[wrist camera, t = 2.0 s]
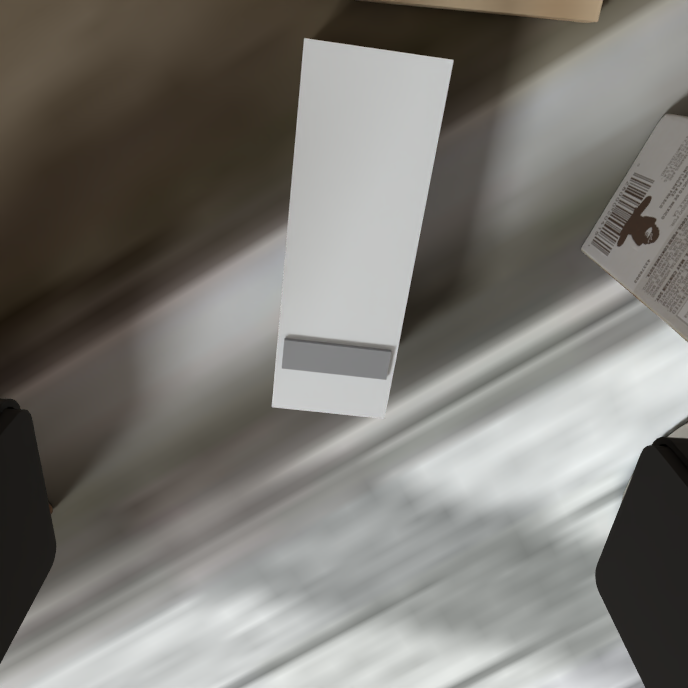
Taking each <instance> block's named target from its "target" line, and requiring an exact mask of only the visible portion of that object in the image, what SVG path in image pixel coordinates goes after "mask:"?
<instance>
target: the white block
mask: <svg viewBox="0 0 688 688" xmlns="http://www.w3.org/2000/svg"><path fill="white" fill-rule="evenodd" d="M453 61H454V60H451V59H444V58H437V57H430V56H423V55H416V54H409V53H403V52H396V51H389V50H382V49H375V48H368V47H362V46H355V45H348V44H341V43H334V42H327V41H320V40H314V39H307V38H304V46H303V57H302V69H301V80H300V91H299V103H298V114H297V126H296V137H295V148H294V160H293V171H292V182H291V194H290V205H289V217H288V228H287V239H286V251H285V262H284V274H283V285H282V296H281V308H280V319H279V330H278V342H277V353H276V365H275V376H274V387H273V399H272V407H277V408H286V409H296V410H305V411H315V412H324V413H334V414H343V415H352V416H362V417H371V418H381V419H384V418H385V413H386V408H387V403H388V398H389V393H390V387H391V382H392V377H393V372H394V367H395V361H396V356H397V351H398V346H399V341H400V335H401V330H402V325H403V320H404V315H405V310H406V304H407V299H408V294H409V289H410V284H411V278H412V273H413V268H414V263H415V258H416V253H417V247H418V242H419V237H420V232H421V227H422V221H423V216H424V211H425V206H426V201H427V196H428V190H429V185H430V180H431V175H432V170H433V164H434V159H435V154H436V149H437V144H438V139H439V133H440V128H441V123H442V118H443V113H444V107H445V102H446V97H447V92H448V87H449V82H450V76H451V71H452V66H453Z"/></svg>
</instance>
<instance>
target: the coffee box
mask: <svg viewBox="0 0 688 688" xmlns="http://www.w3.org/2000/svg"><path fill="white" fill-rule="evenodd" d="M582 252H583V253H584V254H586V255H587V256H588V257H589V258H591V259H592V260H593V261H594V262H595V263H597V264H598V265H599V266H600V267H601V268H602V269H603V270H604V271H606V272H607V273H608V274H609V275H610V276H612V277H613V278H614V279H615V280H616V281H618V282H619V283H620V284H621V285H622V286H623V287H625V288H626V289H627V290H628V291H629V292H630V293H632V294H633V295H634V296H635V297H636V298H637V299H639V300H640V301H641V302H642V303H643V304H645V305H646V306H647V307H648V308H649V309H650V310H652V311H653V312H654V313H655V314H656V315H657V316H658V317H660V318H661V319H662V320H663V321H664V322H665V323H666V324H668V325H669V326H670V327H671V328H672V329H674V330H675V331H676V332H677V333H678V334H679V335H680V336H681V337H683V338H684V339H685V340H686V341H687V342H688V117H686V116H681V115H675V114H669V113H668V114H665V115H664V116H663V117H662V118H661V120H660V121H659V123H658V124H657V126H656V127H655V129H654V130H653V132H652V134H651V135H650V137H649V139H648V140H647V142H646V143H645V145H644V147H643V148H642V150H641V152H640V153H639V155H638V156H637V158H636V160H635V161H634V163H633V165H632V166H631V168H630V169H629V171H628V173H627V174H626V176H625V178H624V179H623V181H622V182H621V184H620V186H619V187H618V189H617V190H616V192H615V194H614V195H613V197H612V198H611V200H610V202H609V203H608V205H607V207H606V208H605V210H604V212H603V213H602V215H601V217H600V218H599V220H598V221H597V223H596V225H595V226H594V228H593V230H592V231H591V233H590V234H589V236H588V238H587V239H586V241H585V243H584V244H583V246H582Z"/></svg>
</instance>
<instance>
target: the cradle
mask: <svg viewBox="0 0 688 688" xmlns="http://www.w3.org/2000/svg"><path fill="white" fill-rule="evenodd" d="M357 1H367V2H377V3H388V4H398V5H408V6H419V7H429V8H439V9H450V10H460V11H470V12H481V13H491V14H501V15H511V16H522V17H532V18H542V19H553V20H563V21H573V22H584V23H590V22H598V18H599V14H600V10H601V6H602V2H603V0H357Z"/></svg>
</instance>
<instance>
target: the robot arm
mask: <svg viewBox="0 0 688 688" xmlns="http://www.w3.org/2000/svg"><path fill="white" fill-rule="evenodd" d="M55 553H56V539H55V534H54V529H53V524H52V519H51V514H50V509H49V504H48V498H47V493H46V488H45V483H44V478H43V473H42V468H41V462H40V457H39V452H38V447H37V442H36V437H35V432H34V427H33V421H32V417H31V414H30V413H29V412H28V411H27V410H21V409H20V406H19V404H18V403H17V402H16V401H15V400H13V399H1V398H0V663H1V661H2V659H3V658H4V656H5V654H6V652H7V650H8V648H9V646H10V644H11V643H12V641H13V639H14V637H15V635H16V633H17V631H18V629H19V627H20V626H21V624H22V622H23V620H24V618H25V616H26V614H27V612H28V611H29V609H30V607H31V605H32V603H33V601H34V599H35V597H36V595H37V594H38V592H39V590H40V588H41V586H42V584H43V582H44V580H45V579H46V577H47V575H48V573H49V571H50V569H51V567H52V565H53V562H54V558H55ZM595 577H596V584H597V588H598V591H599V593H600V595H601V597H602V599H603V601H604V603H605V605H606V607H607V610H608V612H609V614H610V616H611V618H612V620H613V622H614V624H615V626H616V628H617V630H618V632H619V634H620V636H621V638H622V640H623V642H624V645H625V647H626V649H627V651H628V653H629V655H630V657H631V659H632V661H633V663H634V665H635V667H636V669H637V671H638V673H639V675H640V677H641V679H642V682H643V684H644V686H645V688H688V423H687V424H685V425H683V426H681V427H680V428H678V429H677V430H676V431H674V432H673V433H672V434H670V435H669V436H668V437H660V438H658V439H656V440H655V441H654V442H653V444H652V445H650V446H646V447H645V448H644V449H643V451H642V453H641V455H640V457H639V460H638V462H637V465H636V467H635V470H634V473H633V475H632V476H631V478H630V480H629V483H628V485H627V487H626V489H625V492H624V494H623V498H622V503H621V505H620V508H619V511H618V513H617V516H616V518H615V521H614V523H613V526H612V528H611V531H610V533H609V536H608V538H607V541H606V543H605V546H604V549H603V551H602V554H601V556H600V559H599V561H598V564H597V567H596V574H595Z"/></svg>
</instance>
